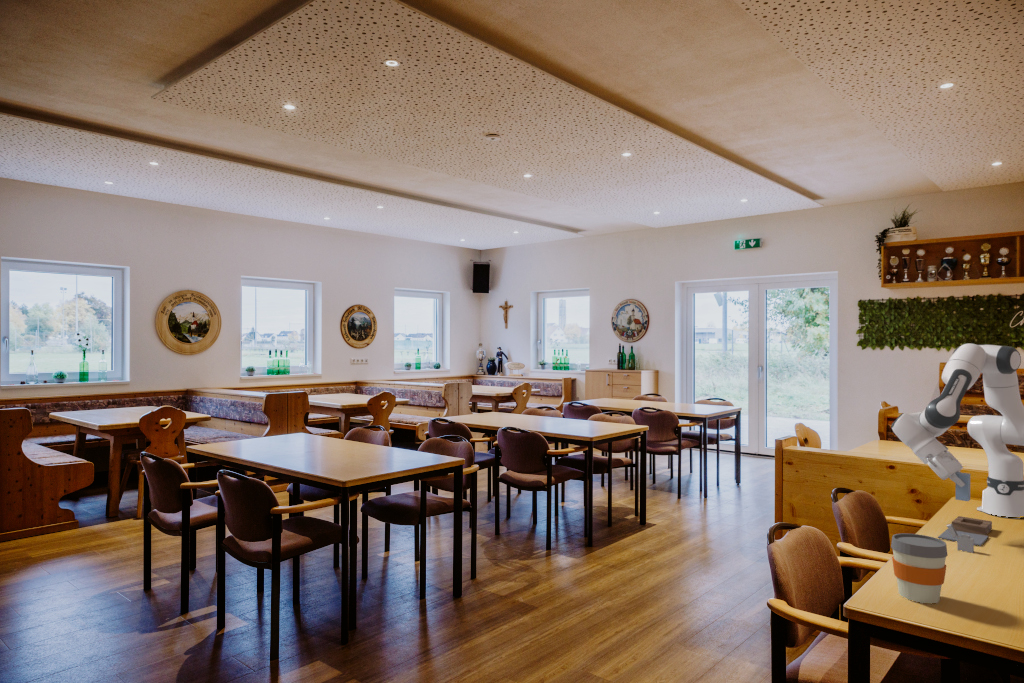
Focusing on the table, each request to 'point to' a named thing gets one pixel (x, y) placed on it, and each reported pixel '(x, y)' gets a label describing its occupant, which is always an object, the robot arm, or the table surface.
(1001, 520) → the table surface
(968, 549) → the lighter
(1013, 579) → the table surface
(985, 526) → the pocket holder
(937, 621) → the table surface
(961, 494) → the peg
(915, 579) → the reusable coffee cup
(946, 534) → the rubber mat
